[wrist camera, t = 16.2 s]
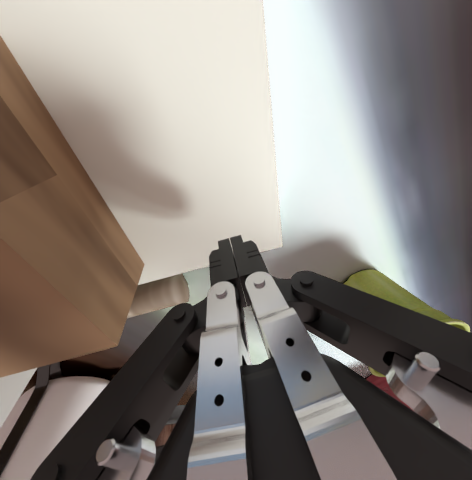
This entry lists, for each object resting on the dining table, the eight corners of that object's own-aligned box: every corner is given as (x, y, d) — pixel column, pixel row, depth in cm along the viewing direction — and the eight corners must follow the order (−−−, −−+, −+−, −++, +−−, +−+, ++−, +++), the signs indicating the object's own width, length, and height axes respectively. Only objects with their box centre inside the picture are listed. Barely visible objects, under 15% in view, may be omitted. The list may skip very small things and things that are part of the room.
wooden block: (184, 271, 21) (176, 276, 18) (191, 296, 21) (185, 306, 18) (90, 295, 21) (68, 305, 18) (97, 321, 21) (77, 335, 18)
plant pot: (324, 317, 29) (366, 386, 22) (322, 272, 23) (377, 345, 16) (386, 297, 29) (450, 360, 21) (399, 247, 23) (489, 309, 16)
